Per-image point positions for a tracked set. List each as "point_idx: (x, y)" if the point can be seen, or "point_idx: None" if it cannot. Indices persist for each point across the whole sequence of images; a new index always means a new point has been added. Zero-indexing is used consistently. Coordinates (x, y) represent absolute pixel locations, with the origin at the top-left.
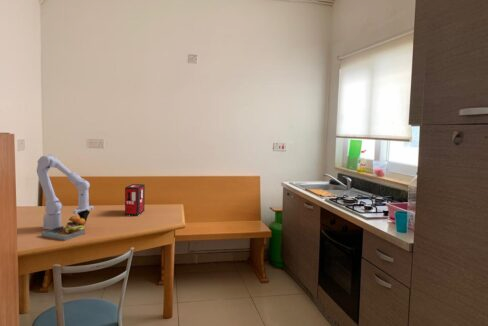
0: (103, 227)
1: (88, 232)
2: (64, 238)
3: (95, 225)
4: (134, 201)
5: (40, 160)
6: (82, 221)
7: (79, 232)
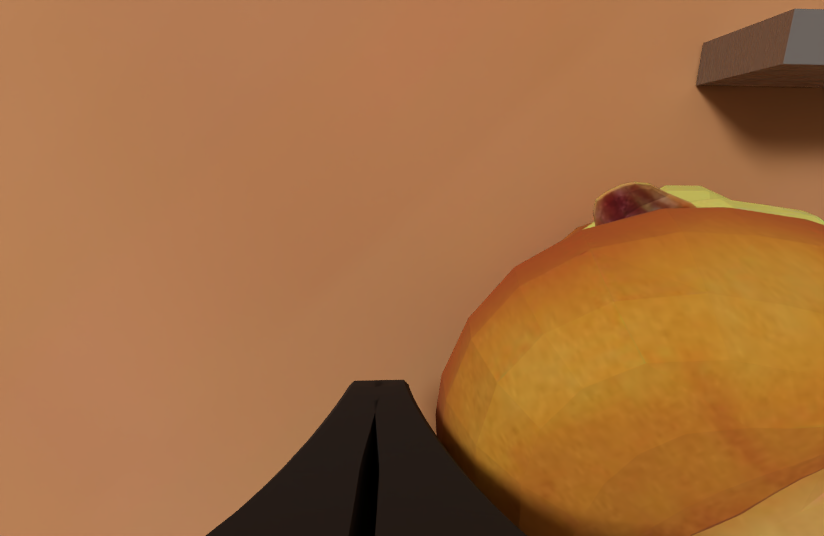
0: (77, 31)
1: (580, 51)
2: None
3: (77, 319)
4: None
5: None
6: (794, 250)
7: None
